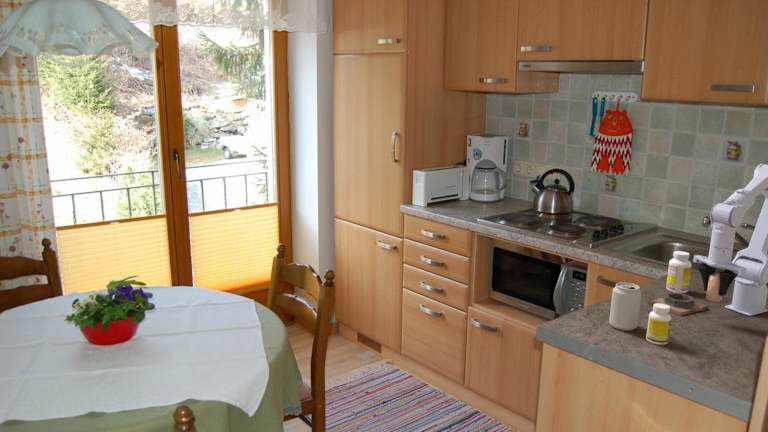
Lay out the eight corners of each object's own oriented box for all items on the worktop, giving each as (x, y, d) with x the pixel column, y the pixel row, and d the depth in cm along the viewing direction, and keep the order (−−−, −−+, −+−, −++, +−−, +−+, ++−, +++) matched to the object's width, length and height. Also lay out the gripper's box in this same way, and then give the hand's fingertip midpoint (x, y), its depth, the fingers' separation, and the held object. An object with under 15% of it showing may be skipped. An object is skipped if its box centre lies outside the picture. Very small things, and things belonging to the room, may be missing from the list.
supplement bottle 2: (688, 289, 211) (693, 251, 208) (688, 295, 205) (693, 256, 202) (665, 286, 214) (670, 249, 211) (665, 292, 208) (670, 253, 205)
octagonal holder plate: (676, 297, 203) (677, 288, 202) (708, 309, 193) (709, 299, 193) (648, 303, 196) (649, 294, 196) (680, 315, 187) (681, 305, 186)
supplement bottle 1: (670, 346, 165) (675, 310, 163) (648, 344, 166) (652, 308, 164) (665, 338, 170) (670, 303, 168) (644, 336, 171) (648, 301, 169)
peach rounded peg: (711, 296, 185) (714, 273, 183) (724, 300, 182) (728, 276, 180) (702, 298, 183) (706, 274, 181) (715, 302, 180) (719, 278, 178)
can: (634, 334, 172) (639, 291, 170) (605, 327, 176) (610, 286, 173) (639, 325, 178) (645, 284, 176) (612, 319, 182) (616, 279, 180)
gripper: (689, 241, 183) (682, 287, 186) (737, 254, 171) (730, 302, 174) (704, 239, 187) (698, 283, 189) (753, 251, 174) (745, 299, 177)
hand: (714, 292), depth 182 cm, fingers closed on peach rounded peg, 4 cm apart
